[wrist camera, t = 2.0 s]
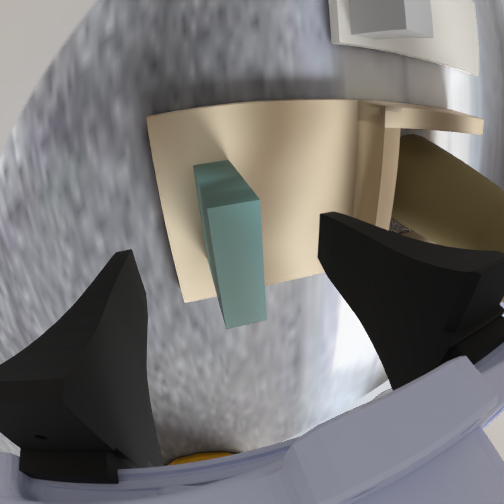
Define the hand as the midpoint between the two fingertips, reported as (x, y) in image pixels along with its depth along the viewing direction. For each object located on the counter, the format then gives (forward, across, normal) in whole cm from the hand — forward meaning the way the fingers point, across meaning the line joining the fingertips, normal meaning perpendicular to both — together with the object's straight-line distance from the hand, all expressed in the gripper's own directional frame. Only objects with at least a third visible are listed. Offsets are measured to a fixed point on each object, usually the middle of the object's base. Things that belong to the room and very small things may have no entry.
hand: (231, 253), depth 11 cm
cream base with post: (+4, -13, -11) cm, 17 cm away
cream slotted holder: (+4, -7, 0) cm, 8 cm away
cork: (+5, -13, 0) cm, 14 cm away
